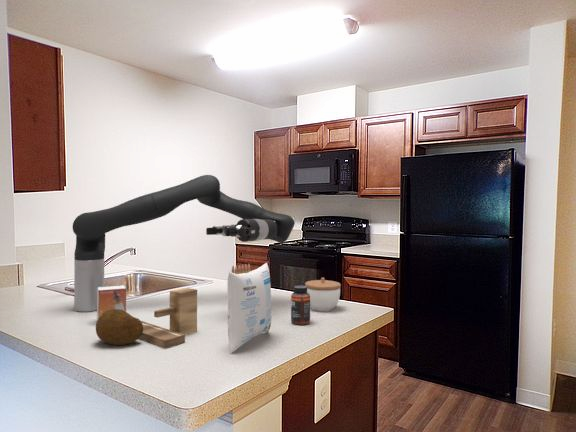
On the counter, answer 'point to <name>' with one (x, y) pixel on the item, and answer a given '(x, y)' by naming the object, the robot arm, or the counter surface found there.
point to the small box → (110, 299)
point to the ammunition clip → (241, 269)
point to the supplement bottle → (300, 306)
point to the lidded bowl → (323, 294)
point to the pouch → (248, 305)
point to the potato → (118, 327)
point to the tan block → (181, 311)
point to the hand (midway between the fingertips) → (216, 232)
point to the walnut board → (161, 336)
